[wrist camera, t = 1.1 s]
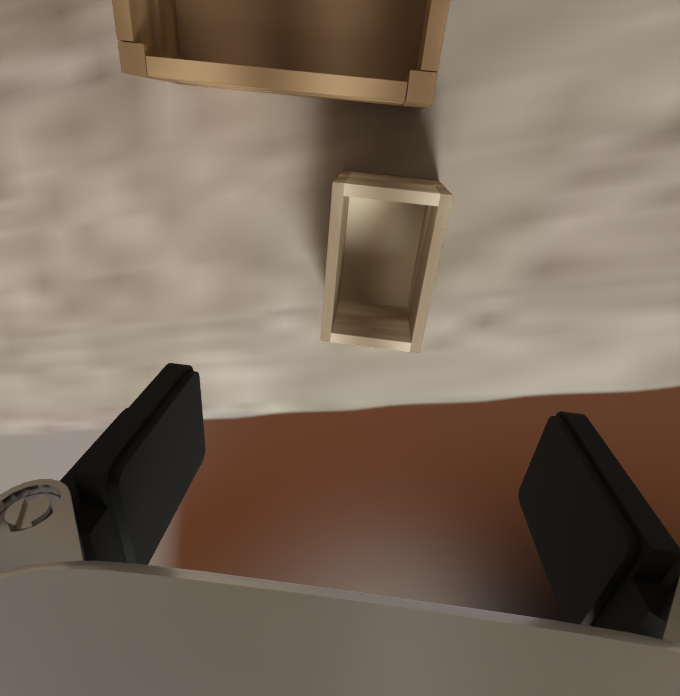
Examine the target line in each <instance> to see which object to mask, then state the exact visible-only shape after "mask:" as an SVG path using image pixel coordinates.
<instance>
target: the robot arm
mask: <svg viewBox="0 0 680 696" xmlns="http://www.w3.org/2000/svg"><path fill="white" fill-rule="evenodd" d="M204 455H205V438H204V426H203V413H202V401H201V389H200V377H199V373H198V372H195V371H193V368H192V366H190V365H182V364H174V363H168V364H167V365H166V366H165V367H164V368H163V369H162V371H161V372H160V373H159V374H158V375H157V376H156V377H155V378H154V380H153V381H152V382H151V383H150V384H149V385H148V386H147V388H146V389H145V390H144V391H143V392H142V393H141V394H140V395H139V397H138V398H137V399H136V400H135V401H134V402H133V403H132V404H131V406H130V407H129V408H126V409H125V410H124V411H122V412H121V414H120V415H119V416H118V417H117V418H116V419H115V420H114V421H113V422H112V424H111V425H110V426H109V427H108V428H107V429H106V430H105V431H104V432H103V434H102V435H101V436H100V437H99V438H98V439H97V440H96V441H95V442H94V444H93V445H92V446H91V447H90V448H89V449H88V450H87V451H86V453H85V454H84V455H83V456H82V457H81V458H80V459H79V460H78V462H76V464H75V465H74V466H73V467H72V468H71V469H70V470H69V471H68V473H67V474H66V475H65V476H64V477H63V478H62V479H61V480H60V481H57V480H52V479H39V480H34V481H29V482H25V483H22V484H20V485H17V486H15V487H13V488H11V489H9V490H7V491H6V492H4V493H2V494H1V495H0V696H680V548H679V547H678V545H677V544H676V542H675V541H674V540H673V538H672V537H671V535H670V534H669V533H668V531H667V530H666V528H665V527H664V525H663V524H662V523H661V521H660V520H659V518H658V517H657V516H656V514H655V513H654V511H653V510H652V509H651V507H650V506H649V504H648V503H647V501H646V500H645V499H644V497H643V496H642V494H641V493H640V491H639V490H638V489H637V487H636V486H635V484H634V483H633V482H632V480H631V479H630V477H629V476H628V475H627V473H626V472H625V470H624V469H623V467H622V466H621V465H620V463H619V462H618V460H617V459H616V458H615V456H614V455H613V453H612V452H611V451H610V449H609V448H608V446H607V445H606V443H605V442H604V441H603V439H602V438H601V436H600V435H599V434H598V432H597V431H596V429H595V428H594V426H593V425H592V424H591V422H590V421H589V420H588V418H587V417H586V416H585V415H583V414H577V413H570V412H562V411H561V412H558V413H557V414H556V416H551V417H550V418H549V419H548V421H547V424H546V426H545V429H544V431H543V433H542V436H541V438H540V441H539V443H538V446H537V448H536V450H535V453H534V455H533V457H532V460H531V462H530V465H529V467H528V470H527V472H526V475H525V477H524V479H523V482H522V484H521V486H520V489H519V502H520V505H521V508H522V510H523V513H524V516H525V519H526V522H527V524H528V527H529V530H530V532H531V535H532V538H533V541H534V543H535V546H536V548H537V551H538V553H539V557H540V559H541V562H542V565H543V567H544V570H545V573H546V576H547V578H548V581H549V584H550V587H551V589H552V592H553V594H554V597H555V600H556V603H557V605H558V608H559V611H560V614H561V616H562V619H563V622H561V621H555V620H548V619H541V618H534V617H527V616H521V615H513V614H506V613H500V612H493V611H486V610H479V609H472V608H465V607H458V606H451V605H444V604H437V603H430V602H423V601H416V600H408V599H401V598H395V597H387V596H380V595H373V594H366V593H359V592H351V591H344V590H337V589H330V588H323V587H315V586H307V585H301V584H293V583H286V582H277V581H271V580H263V579H255V578H248V577H240V576H233V575H226V574H218V573H211V572H203V571H194V570H185V569H177V568H168V567H160V566H152V565H148V564H149V562H150V560H151V558H152V556H153V554H154V552H155V550H156V548H157V546H158V545H159V543H160V541H161V539H162V537H163V535H164V533H165V531H166V529H167V528H168V526H169V524H170V522H171V520H172V518H173V516H174V514H175V512H176V511H177V509H178V506H179V505H180V503H181V501H182V499H183V497H184V495H185V493H186V492H187V490H188V488H189V486H190V484H191V482H192V480H193V478H194V476H195V474H196V472H197V471H198V469H199V467H200V465H201V463H202V461H203V458H204Z"/></svg>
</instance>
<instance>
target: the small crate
mask: <svg viewBox="0 0 680 696" xmlns="http://www.w3.org/2000/svg"><path fill="white" fill-rule="evenodd" d="M452 196H453V195H452V194H451V193H450V192H449V191H448V190H447V189H446V188H445V187H444V186H443V185H442V183H441V182H440V181H436V180H427V179H418V178H408V177H399V176H390V175H381V174H372V173H362V172H353V171H344V170H343V171H342V172H341V173H340V174H339V175H338V177H337V178H336V179H335V180H334V181H333V183H332V196H331V209H330V222H329V235H328V248H327V261H326V274H325V287H324V300H323V313H322V326H321V339H320V341H327V342H335V343H343V344H351V345H359V346H367V347H375V348H383V349H391V350H399V351H407V352H415V353H420V349H421V344H422V339H423V335H424V330H425V325H426V320H427V316H428V311H429V306H430V301H431V297H432V292H433V287H434V282H435V277H436V273H437V268H438V263H439V258H440V254H441V249H442V244H443V239H444V235H445V230H446V225H447V220H448V216H449V211H450V206H451V201H452Z"/></svg>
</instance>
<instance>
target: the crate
mask: <svg viewBox="0 0 680 696" xmlns="http://www.w3.org/2000/svg"><path fill="white" fill-rule="evenodd" d="M449 3H450V0H112V4H113V12H114V19H115V26H116V34H117V40H119V41H118V49H119V56H120V64H121V71H122V73H126V74H131V75H136V76H141V77H146V78H151V79H156V80H161V81H167V82H172V83H177V84H186V85H195V86H205V87H215V88H225V89H235V90H245V91H254V92H264V93H274V94H284V95H294V96H303V97H313V98H323V99H333V100H343V101H352V102H362V103H372V104H382V105H392V106H401V107H411V108H421V109H422V108H425V107H427V106H429V105H432V103H433V97H434V91H435V85H436V80H437V74H438V73H437V72H438V68H439V62H440V56H441V50H442V44H443V38H444V33H445V27H446V21H447V15H448V9H449ZM120 41H122V42H120Z"/></svg>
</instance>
